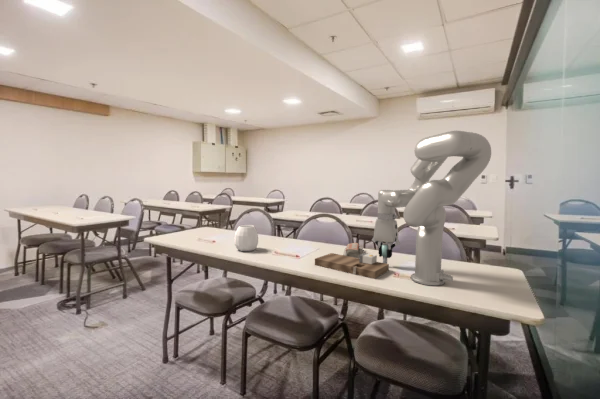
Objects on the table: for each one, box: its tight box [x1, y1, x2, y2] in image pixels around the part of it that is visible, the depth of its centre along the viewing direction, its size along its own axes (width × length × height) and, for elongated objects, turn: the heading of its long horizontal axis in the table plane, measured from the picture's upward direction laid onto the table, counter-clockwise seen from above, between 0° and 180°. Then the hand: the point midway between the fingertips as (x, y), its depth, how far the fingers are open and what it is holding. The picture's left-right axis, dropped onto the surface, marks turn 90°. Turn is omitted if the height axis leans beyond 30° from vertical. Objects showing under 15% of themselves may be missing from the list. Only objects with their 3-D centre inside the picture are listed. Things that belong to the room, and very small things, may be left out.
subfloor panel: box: [314, 252, 390, 280], centre depth 137 cm, size 30×15×3 cm, turn 51°
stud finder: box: [359, 252, 378, 264], centre depth 135 cm, size 6×5×3 cm
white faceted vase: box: [234, 224, 259, 252], centre depth 170 cm, size 13×13×14 cm
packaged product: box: [342, 242, 364, 258], centre depth 164 cm, size 18×5×10 cm
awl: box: [381, 243, 388, 264], centre depth 139 cm, size 3×3×10 cm
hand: (385, 256), depth 139 cm, fingers closed on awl, 3 cm apart
